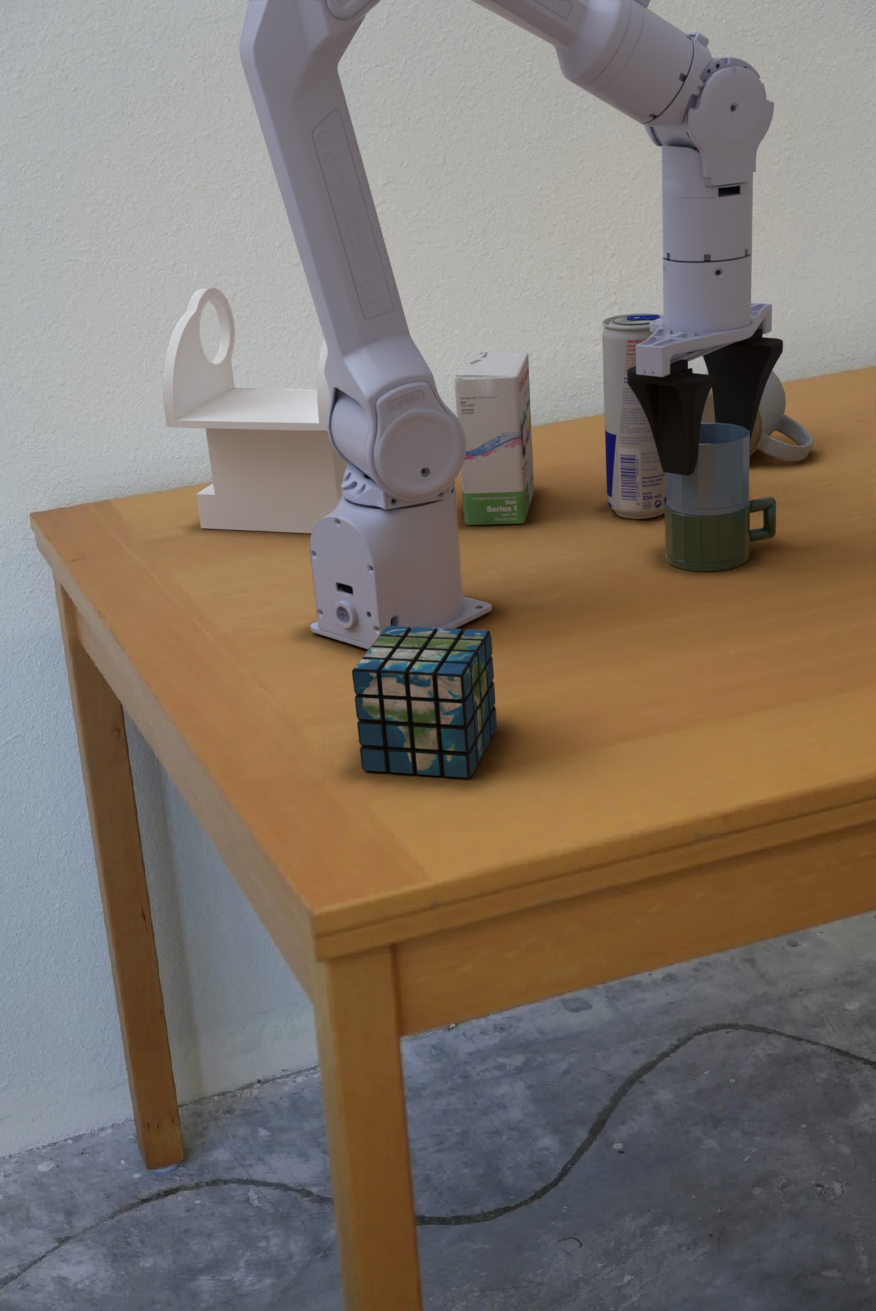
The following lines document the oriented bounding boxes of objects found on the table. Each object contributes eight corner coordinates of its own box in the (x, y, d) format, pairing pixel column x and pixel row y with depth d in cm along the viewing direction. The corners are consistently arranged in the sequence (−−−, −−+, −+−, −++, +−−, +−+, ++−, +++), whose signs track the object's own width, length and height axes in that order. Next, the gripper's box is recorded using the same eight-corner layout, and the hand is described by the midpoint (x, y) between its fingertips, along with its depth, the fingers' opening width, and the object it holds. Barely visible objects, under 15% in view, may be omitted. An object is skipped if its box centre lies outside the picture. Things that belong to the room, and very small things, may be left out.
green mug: (687, 577, 101) (687, 521, 99) (651, 551, 106) (650, 498, 105) (795, 557, 103) (796, 502, 101) (755, 533, 108) (755, 480, 107)
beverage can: (672, 499, 117) (670, 308, 111) (675, 520, 112) (673, 321, 106) (607, 502, 117) (601, 312, 111) (607, 522, 113) (601, 325, 107)
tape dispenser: (183, 539, 116) (149, 309, 109) (254, 489, 127) (227, 277, 120) (349, 547, 112) (325, 307, 105) (407, 495, 123) (389, 275, 116)
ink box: (526, 525, 114) (518, 373, 109) (462, 526, 114) (452, 375, 110) (536, 491, 121) (530, 348, 116) (476, 492, 122) (467, 350, 117)
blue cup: (765, 502, 102) (767, 432, 100) (705, 521, 99) (705, 449, 97) (709, 486, 106) (709, 418, 104) (650, 503, 103) (649, 434, 101)
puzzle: (470, 779, 77) (463, 674, 74) (361, 772, 78) (350, 669, 76) (497, 728, 82) (491, 628, 80) (395, 722, 84) (385, 624, 81)
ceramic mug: (675, 466, 125) (676, 375, 122) (698, 439, 131) (700, 353, 128) (802, 474, 121) (806, 381, 118) (819, 446, 127) (824, 358, 124)
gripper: (708, 236, 103) (708, 425, 109) (593, 271, 93) (599, 478, 99) (801, 239, 99) (796, 436, 105) (691, 277, 89) (691, 492, 95)
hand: (706, 457), depth 101 cm, fingers open, 7 cm apart
